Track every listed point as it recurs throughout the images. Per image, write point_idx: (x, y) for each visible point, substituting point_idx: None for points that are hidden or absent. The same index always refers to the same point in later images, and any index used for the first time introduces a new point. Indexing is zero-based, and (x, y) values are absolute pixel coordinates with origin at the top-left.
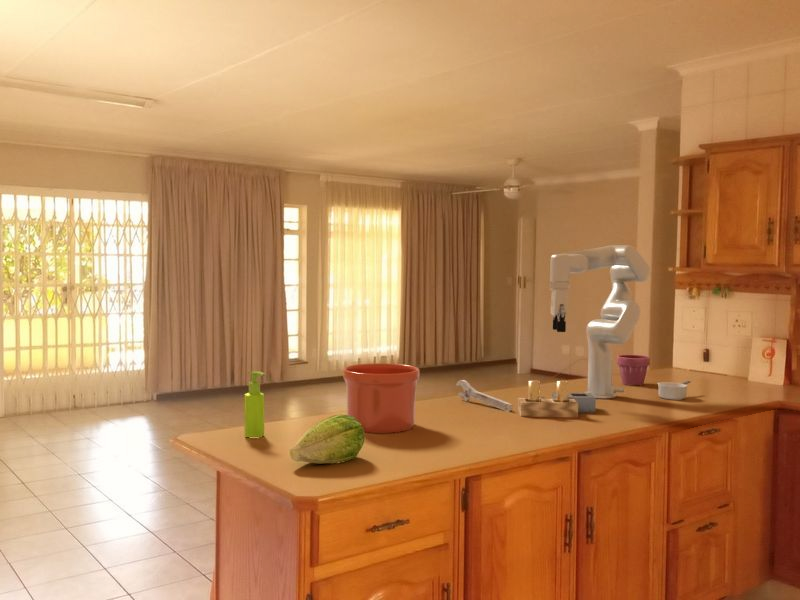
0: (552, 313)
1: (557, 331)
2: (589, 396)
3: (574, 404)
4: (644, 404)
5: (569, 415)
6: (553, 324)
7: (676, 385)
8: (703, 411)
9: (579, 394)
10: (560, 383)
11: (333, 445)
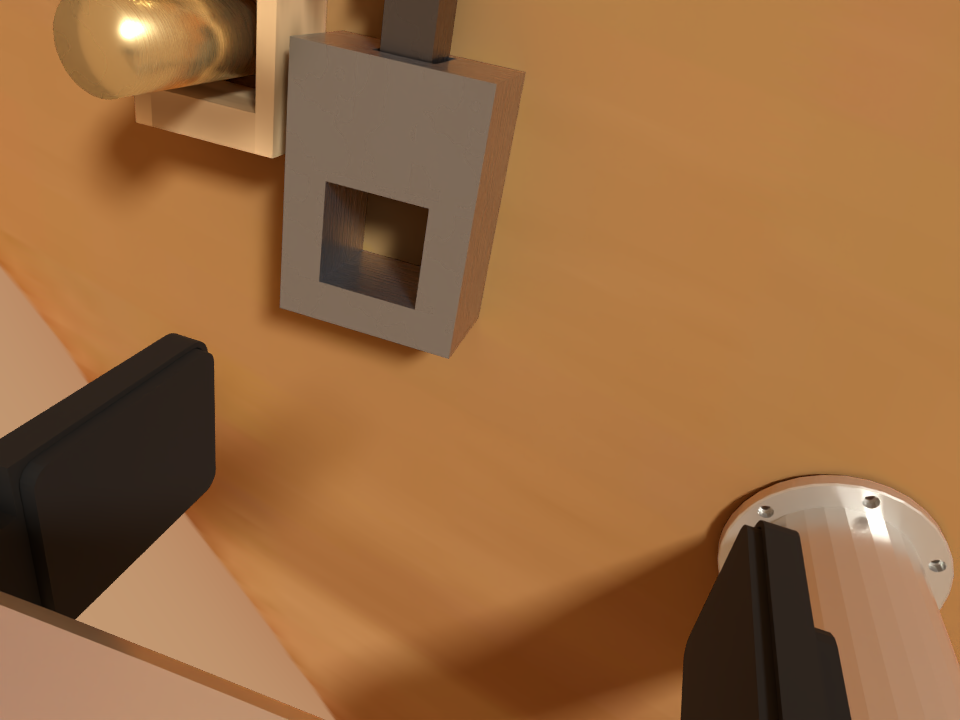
0: (64, 703)
1: (176, 339)
2: (316, 288)
3: (138, 95)
4: (527, 618)
5: None
6: (748, 613)
7: None
8: (362, 712)
9: (423, 271)
10: (63, 10)
11: None
